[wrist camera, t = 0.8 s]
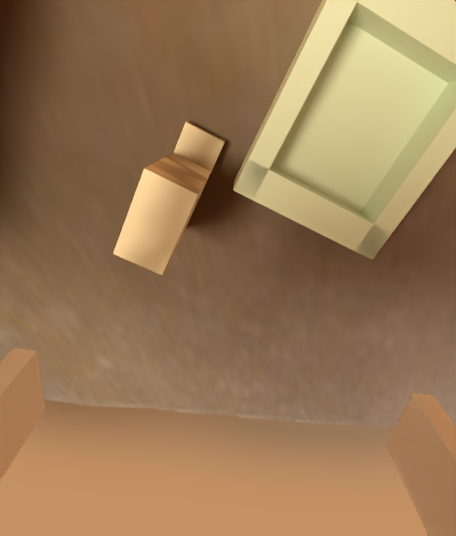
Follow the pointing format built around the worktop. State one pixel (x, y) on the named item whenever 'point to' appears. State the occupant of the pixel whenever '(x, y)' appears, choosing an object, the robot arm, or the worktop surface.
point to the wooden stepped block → (167, 200)
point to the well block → (359, 120)
